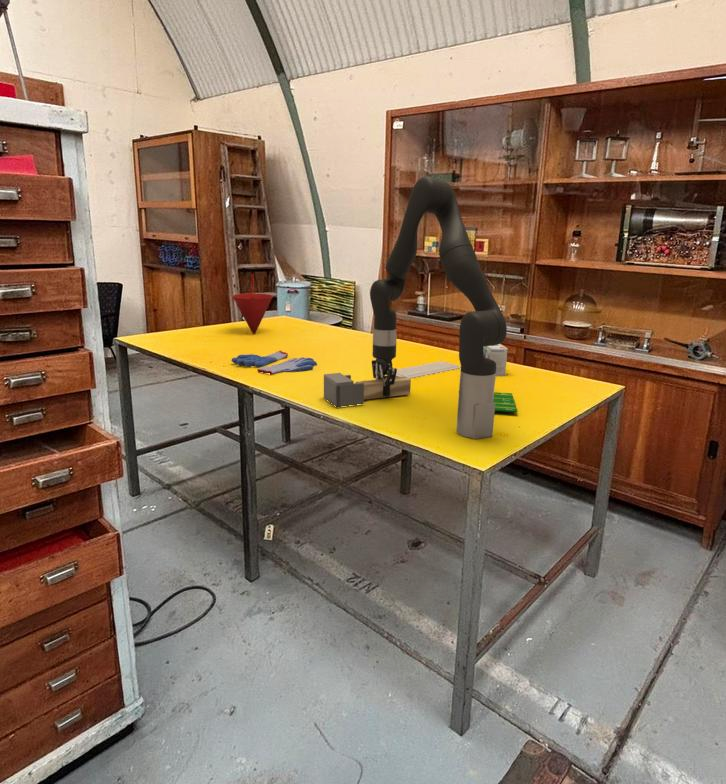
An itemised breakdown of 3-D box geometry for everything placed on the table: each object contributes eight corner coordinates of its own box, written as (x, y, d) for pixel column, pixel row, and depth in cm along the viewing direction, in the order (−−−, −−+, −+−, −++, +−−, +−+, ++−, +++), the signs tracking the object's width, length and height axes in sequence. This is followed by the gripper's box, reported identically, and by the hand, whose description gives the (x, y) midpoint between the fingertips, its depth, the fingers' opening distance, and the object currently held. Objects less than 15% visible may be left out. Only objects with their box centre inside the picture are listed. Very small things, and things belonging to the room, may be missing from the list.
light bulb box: (480, 369, 225) (482, 342, 222) (497, 369, 226) (499, 342, 223) (488, 376, 215) (490, 348, 212) (505, 376, 216) (508, 348, 213)
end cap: (363, 404, 179) (364, 380, 176) (336, 408, 175) (336, 383, 173) (349, 395, 188) (349, 371, 186) (323, 398, 184) (323, 374, 182)
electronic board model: (519, 394, 169) (467, 391, 171) (517, 416, 171) (465, 412, 173) (510, 369, 197) (466, 367, 200) (509, 389, 199) (465, 386, 202)
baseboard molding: (463, 370, 225) (441, 364, 234) (464, 363, 224) (441, 357, 233) (405, 382, 206) (383, 375, 215) (405, 374, 206) (384, 368, 215)
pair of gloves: (327, 367, 226) (327, 358, 225) (278, 379, 207) (278, 370, 206) (273, 354, 245) (273, 346, 244) (224, 364, 226) (223, 355, 225)
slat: (410, 394, 189) (410, 379, 188) (360, 400, 182) (360, 384, 180) (404, 390, 193) (404, 376, 191) (355, 396, 185) (355, 381, 184)
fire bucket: (233, 331, 292) (230, 271, 284) (271, 330, 297) (270, 271, 288) (234, 339, 272) (231, 275, 264) (276, 338, 277) (274, 275, 268)
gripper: (405, 346, 178) (403, 399, 182) (384, 337, 190) (383, 387, 195) (384, 348, 174) (382, 401, 179) (364, 339, 187) (363, 389, 192)
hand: (383, 394), depth 187 cm, fingers closed on slat, 4 cm apart
